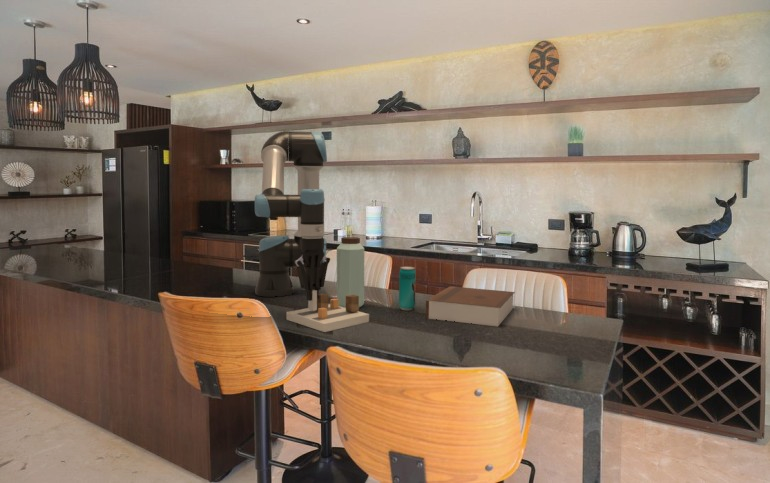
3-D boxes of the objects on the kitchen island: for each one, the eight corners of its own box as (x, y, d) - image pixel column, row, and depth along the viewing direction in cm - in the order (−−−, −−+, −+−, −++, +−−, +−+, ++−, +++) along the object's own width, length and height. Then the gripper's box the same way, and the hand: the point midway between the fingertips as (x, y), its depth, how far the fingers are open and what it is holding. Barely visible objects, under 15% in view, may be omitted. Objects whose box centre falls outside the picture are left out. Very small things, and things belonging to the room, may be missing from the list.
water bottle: (351, 301, 194) (352, 236, 191) (369, 306, 187) (370, 238, 184) (330, 305, 187) (330, 237, 184) (348, 310, 180) (349, 239, 177)
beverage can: (413, 311, 180) (414, 269, 178) (397, 310, 181) (398, 268, 179) (416, 307, 185) (416, 266, 184) (400, 306, 186) (400, 266, 185)
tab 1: (315, 309, 169) (315, 294, 168) (322, 308, 171) (322, 293, 170) (320, 311, 167) (320, 296, 166) (328, 309, 169) (328, 294, 168)
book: (425, 319, 170) (425, 300, 169) (449, 303, 196) (449, 286, 195) (499, 328, 160) (500, 308, 160) (514, 309, 186) (515, 292, 185)
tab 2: (345, 310, 167) (345, 295, 167) (352, 309, 170) (352, 294, 169) (351, 312, 165) (351, 297, 165) (358, 311, 167) (358, 296, 167)
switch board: (286, 319, 167) (286, 302, 166) (330, 310, 179) (330, 295, 179) (324, 332, 152) (324, 314, 152) (369, 321, 165) (369, 305, 164)
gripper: (302, 239, 157) (302, 315, 159) (335, 237, 166) (335, 308, 168) (288, 237, 162) (289, 310, 164) (321, 235, 171) (321, 304, 173)
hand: (312, 309), depth 166 cm, fingers closed
